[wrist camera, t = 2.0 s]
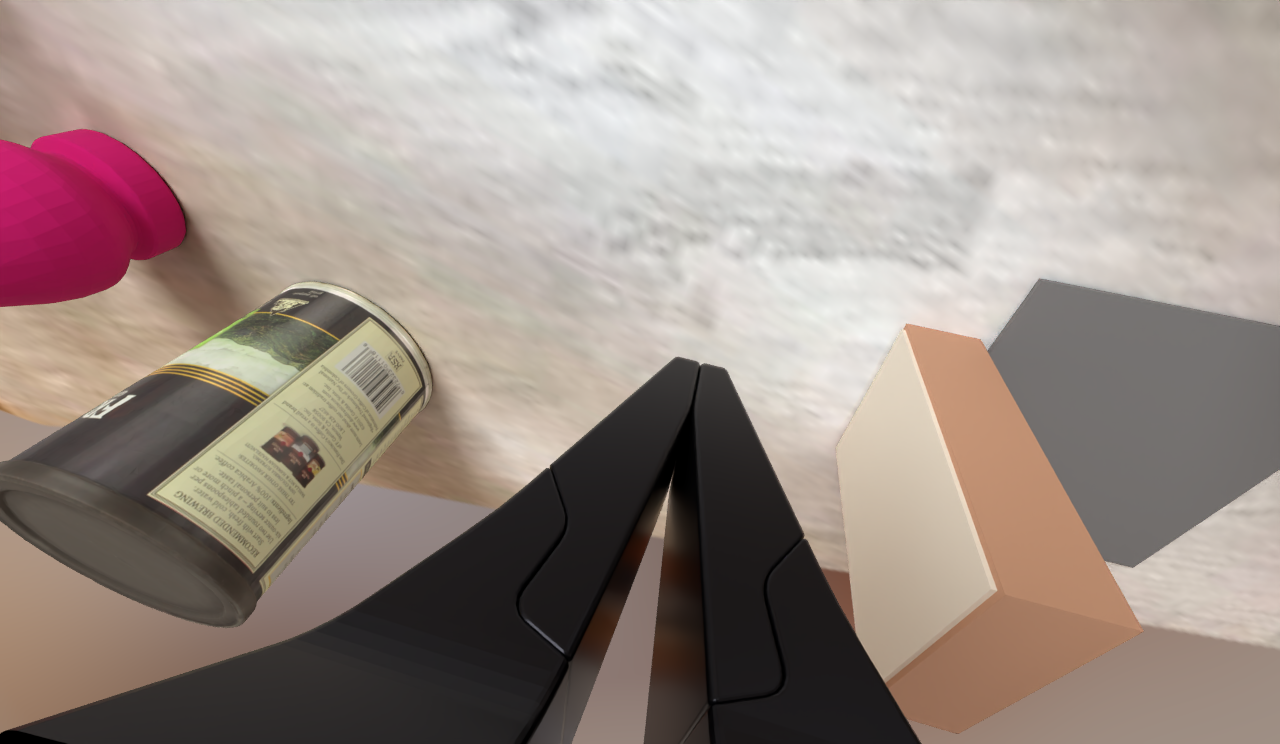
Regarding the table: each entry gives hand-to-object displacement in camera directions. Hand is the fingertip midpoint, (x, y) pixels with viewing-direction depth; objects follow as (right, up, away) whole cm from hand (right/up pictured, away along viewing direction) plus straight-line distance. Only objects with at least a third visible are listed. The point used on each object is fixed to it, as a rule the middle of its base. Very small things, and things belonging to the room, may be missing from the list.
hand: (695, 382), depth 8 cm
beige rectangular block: (+11, -1, +15) cm, 19 cm away
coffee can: (-18, +1, +22) cm, 29 cm away
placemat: (+20, -3, +14) cm, 24 cm away
